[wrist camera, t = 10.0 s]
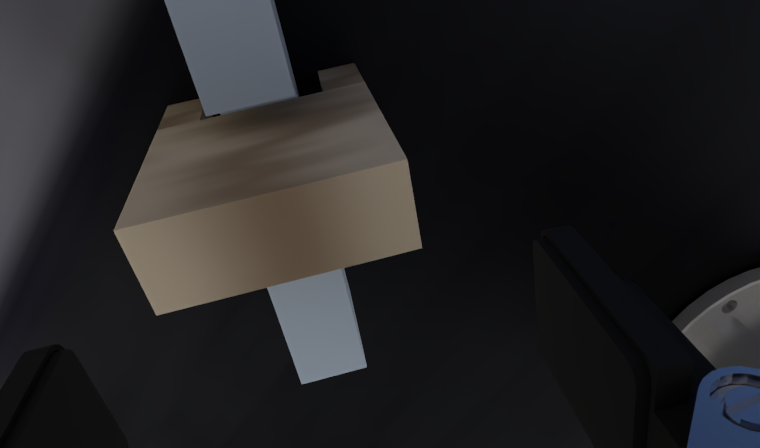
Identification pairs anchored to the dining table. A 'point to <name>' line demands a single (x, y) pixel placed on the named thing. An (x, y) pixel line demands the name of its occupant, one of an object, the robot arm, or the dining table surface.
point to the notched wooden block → (267, 195)
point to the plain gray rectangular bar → (253, 89)
